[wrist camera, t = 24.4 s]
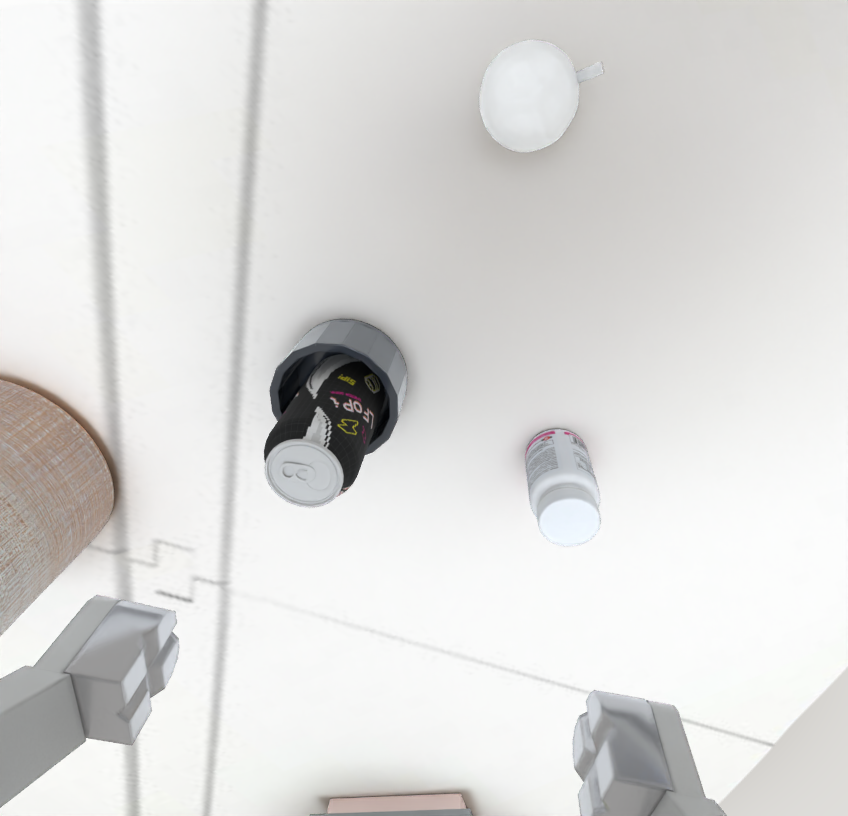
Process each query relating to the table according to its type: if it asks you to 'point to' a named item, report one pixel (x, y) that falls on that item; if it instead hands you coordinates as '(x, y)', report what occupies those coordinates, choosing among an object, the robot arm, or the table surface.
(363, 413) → the beverage can
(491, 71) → the milkshake
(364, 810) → the desk lamp
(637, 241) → the table surface
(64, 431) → the planter
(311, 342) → the can holder
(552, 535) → the pill bottle
